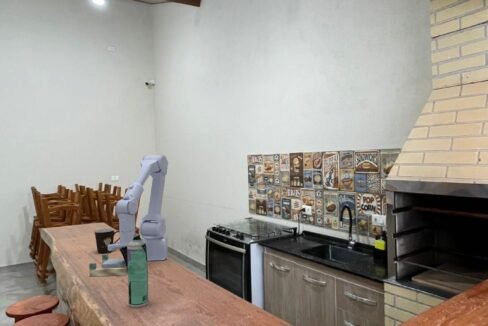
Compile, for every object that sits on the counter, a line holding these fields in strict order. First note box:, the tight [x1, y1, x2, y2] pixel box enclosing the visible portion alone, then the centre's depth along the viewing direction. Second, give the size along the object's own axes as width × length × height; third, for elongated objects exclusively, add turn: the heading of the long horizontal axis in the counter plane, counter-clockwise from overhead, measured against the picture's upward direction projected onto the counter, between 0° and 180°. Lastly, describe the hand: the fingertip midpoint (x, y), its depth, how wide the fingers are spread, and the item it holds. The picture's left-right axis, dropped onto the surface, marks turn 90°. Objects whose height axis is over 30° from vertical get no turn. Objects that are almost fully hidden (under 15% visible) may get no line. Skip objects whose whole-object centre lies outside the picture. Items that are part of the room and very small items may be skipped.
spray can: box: [127, 233, 149, 309], centre depth 102 cm, size 6×6×20 cm
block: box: [101, 258, 128, 269], centre depth 135 cm, size 7×7×4 cm
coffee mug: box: [94, 228, 120, 255], centre depth 164 cm, size 12×9×10 cm
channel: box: [88, 253, 128, 278], centre depth 135 cm, size 13×13×4 cm
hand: (128, 266), depth 135 cm, fingers closed
